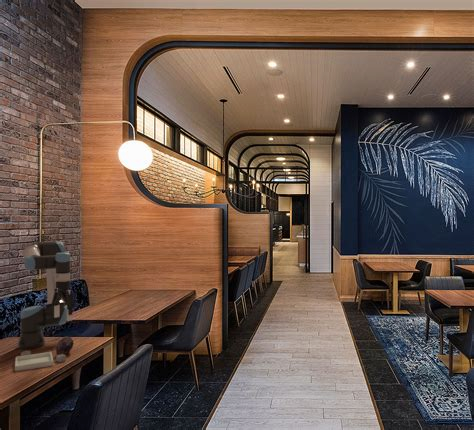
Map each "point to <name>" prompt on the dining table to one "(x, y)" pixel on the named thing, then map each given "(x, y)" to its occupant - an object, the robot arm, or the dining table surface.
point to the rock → (64, 345)
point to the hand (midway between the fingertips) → (63, 319)
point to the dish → (33, 361)
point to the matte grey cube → (25, 353)
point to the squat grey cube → (60, 358)
